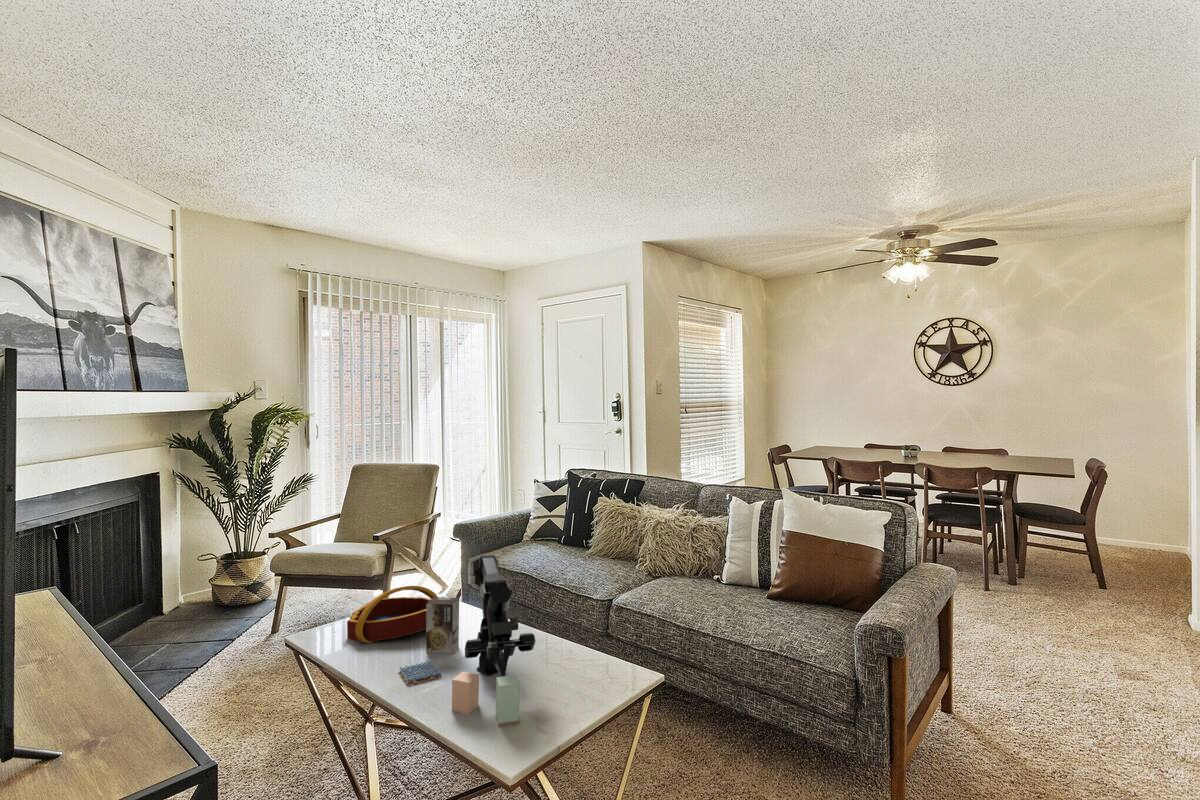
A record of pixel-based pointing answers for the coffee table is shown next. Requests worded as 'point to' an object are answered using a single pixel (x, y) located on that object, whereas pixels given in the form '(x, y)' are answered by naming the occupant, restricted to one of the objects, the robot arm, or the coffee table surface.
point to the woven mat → (419, 673)
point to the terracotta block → (465, 692)
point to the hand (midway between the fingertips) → (503, 677)
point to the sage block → (507, 700)
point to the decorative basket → (389, 616)
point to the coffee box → (442, 625)
